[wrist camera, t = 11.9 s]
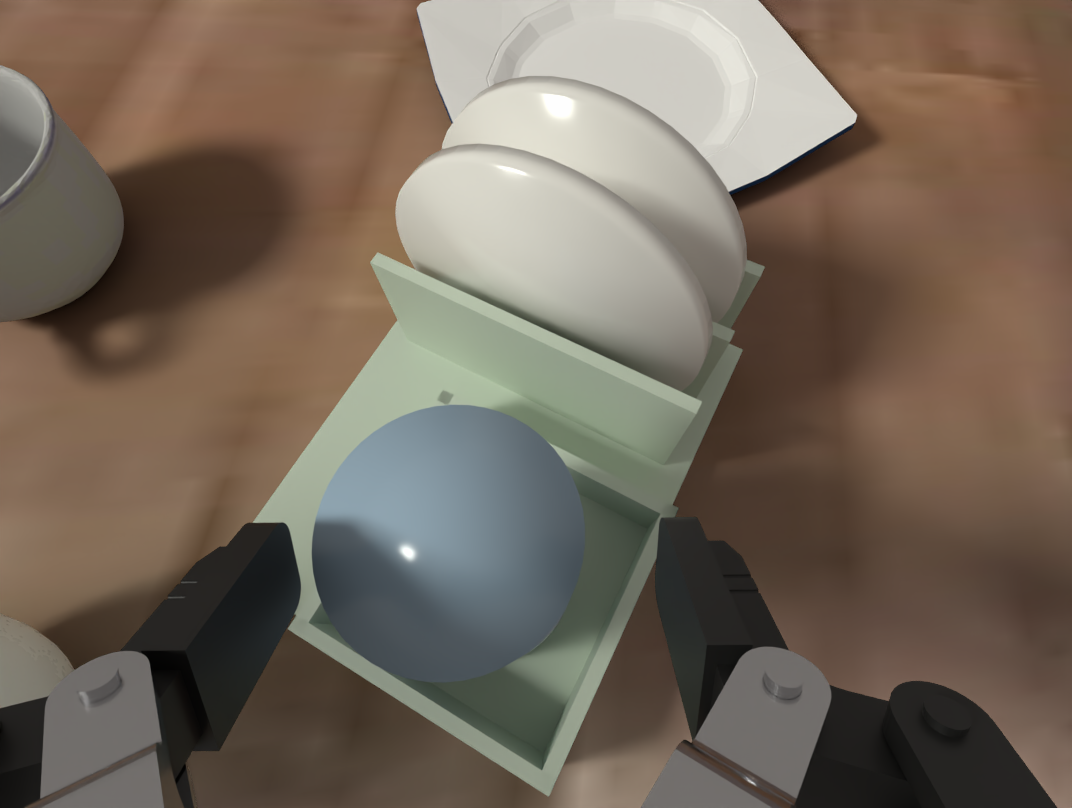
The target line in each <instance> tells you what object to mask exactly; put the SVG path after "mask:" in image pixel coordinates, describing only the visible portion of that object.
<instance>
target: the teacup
mask: <svg viewBox="0 0 1072 808" xmlns="http://www.w3.org/2000/svg"><path fill="white" fill-rule="evenodd" d="M123 230H124V216H123V209H122V206H121V202H120V199H119V196H118V194H117V192H116V190H115V187H114V186H113V184H112V182H111V181H110V179H109V177H108V176H107V175H106V173H105V172H104V170H103V169H102V168H101V166H100V165H99V164H98V162H97V161H96V160H95V159H94V157H93V156H92V155H91V153H90V152H89V151H88V150H87V149H86V147H85V146H84V145H83V144H82V142H81V141H80V140H79V139H78V138H77V136H76V135H75V134H74V133H73V132H72V130H71V129H70V128H69V127H68V126H67V125H66V123H65V122H64V121H63V120H62V119H61V118H60V117H59V115H58V114H57V113H56V112H55V111H54V110H53V108H52V106H51V104H50V102H49V100H48V98H47V97H46V96H45V94H44V93H43V91H42V90H41V89H40V88H39V87H38V86H37V85H36V84H35V83H34V82H33V81H32V80H31V79H29V78H28V77H26V76H24V75H23V74H20V73H18V72H16V71H15V70H12V69H9V68H7V67H4V66H1V65H0V322H7V321H15V320H20V319H25V318H30V317H34V316H37V315H40V314H43V313H46V312H49V311H51V310H54V309H57V308H59V307H62V306H64V305H66V304H68V303H70V302H72V301H74V300H75V299H77V298H79V297H80V296H82V295H83V294H84V293H86V292H87V291H88V290H90V289H91V288H92V287H93V286H94V285H95V284H96V283H97V282H98V281H99V279H100V278H101V277H102V276H103V275H104V273H105V272H106V270H107V269H108V267H109V266H110V264H111V263H112V262H113V260H114V258H115V256H116V254H117V252H118V249H119V247H120V244H121V240H122V237H123Z"/></svg>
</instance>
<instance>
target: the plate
mask: <svg viewBox="0 0 1072 808" xmlns="http://www.w3.org/2000/svg"><path fill="white" fill-rule="evenodd" d="M417 15H418V19H419V23H420V26H421V30H422V34H423V37H424V41H425V45H426V48H427V52H428V56H429V60H430V63H431V67H432V71H433V74H434V78H435V82H436V85H437V88H438V91H439V93H440V96H441V98H442V101H443V103H444V105H445V108H446V110H447V113H448V115H449V118H450V120H451V123H453V122H454V121H455V119H456V118H457V117H458V115H459V114H460V113H461V111H462V110H463V109H464V108H465V106H466V105H467V104H468V103H469V102H470V101H471V100H472V99H473V98H474V97H475V96H476V95H477V94H478V93H480V92H482V91H483V90H485V89H487V88H488V87H490V86H492V85H494V84H497V83H500V82H502V81H505V80H508V79H512V78H519V77H526V76H555V77H561V78H568V79H574V80H578V81H582V82H585V83H589V84H592V85H596V86H599V87H602V88H604V89H607V90H609V91H611V92H614V93H616V94H619V95H621V96H623V97H626V98H627V99H629V100H631V101H633V102H635V103H636V104H638V105H640V106H642V107H643V108H645V109H647V110H649V111H650V112H652V113H653V114H655V115H656V116H658V117H659V118H660V119H662V120H663V121H665V122H666V123H667V124H669V125H670V126H672V127H673V128H674V129H675V130H676V131H677V132H679V133H680V134H681V135H682V136H683V137H684V138H685V139H686V140H688V141H689V142H690V143H691V144H692V145H693V146H694V147H695V148H696V149H697V150H698V151H699V153H700V154H701V155H702V156H703V157H704V158H705V159H706V160H707V161H708V163H709V164H710V165H711V166H712V167H713V169H714V170H715V172H716V173H717V175H718V176H719V177H720V179H721V180H722V182H723V183H724V185H725V186H726V188H727V190H728V192H729V194H730V195H731V194H734V193H736V192H739V191H741V190H743V189H746V188H748V187H751V186H753V185H756V184H758V183H761V182H763V181H765V180H767V179H769V178H770V177H772V176H774V175H775V174H777V173H779V172H780V171H782V170H784V169H785V168H787V167H789V166H790V165H792V164H794V163H795V162H797V161H799V160H800V159H802V158H804V157H805V156H807V155H809V154H810V153H812V152H814V151H815V150H817V149H819V148H820V147H822V146H824V145H825V144H827V143H829V142H830V141H832V140H834V139H835V138H837V137H839V136H840V135H842V134H844V133H846V132H847V131H849V130H851V129H852V128H853V126H854V124H855V122H856V118H857V114H856V113H855V112H854V111H853V110H852V109H851V107H850V106H849V105H848V104H847V103H846V102H845V100H844V99H843V98H842V97H841V96H840V95H839V93H838V92H837V91H836V90H835V89H834V88H833V87H832V85H831V84H830V83H829V82H828V81H827V80H826V78H825V77H824V76H823V75H822V74H821V73H820V71H819V70H818V69H817V68H816V67H815V66H814V64H813V63H812V62H811V61H810V60H809V59H808V57H807V56H806V55H805V54H804V53H803V52H802V50H801V49H800V48H799V47H798V46H797V44H796V43H795V42H794V41H793V40H792V38H791V37H790V36H789V35H788V34H787V32H786V31H785V30H784V29H783V28H782V27H781V25H780V24H779V23H778V22H777V21H776V19H775V18H774V17H773V16H772V15H771V14H770V13H769V12H768V11H767V9H766V8H765V7H764V6H763V5H762V4H761V3H760V2H759V1H758V0H431V1H428V2H424V3H421V4H420V5H419V6H418V8H417Z"/></svg>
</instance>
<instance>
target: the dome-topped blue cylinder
mask: <svg viewBox="0 0 1072 808" xmlns="http://www.w3.org/2000/svg"><path fill="white" fill-rule="evenodd" d="M584 548H585V522H584V515H583V508H582V504H581V500H580V496H579V493H578V490H577V487H576V485H575V482H574V480H573V478H572V475H571V474H570V472H569V470H568V468H567V467H566V465H565V463H564V461H563V460H562V459H561V457H560V456H559V455H558V453H557V452H556V451H555V449H554V448H553V447H552V446H551V445H550V444H549V443H548V442H547V441H546V440H545V439H544V438H543V437H542V436H541V435H539V434H538V433H537V432H536V431H534V430H533V429H532V428H530V427H529V426H528V425H526V424H524V423H522V422H521V421H519V420H517V419H516V418H513V417H511V416H509V415H506V414H504V413H502V412H499V411H495V410H492V409H488V408H485V407H478V406H471V405H443V406H434V407H430V408H425V409H421V410H417V411H414V412H412V413H409V414H406V415H403V416H401V417H399V418H397V419H395V420H393V421H391V422H389V423H387V424H385V425H384V426H382V427H381V428H379V429H378V430H376V431H374V432H373V433H372V434H371V435H369V436H368V437H367V438H366V439H364V440H363V441H362V442H361V443H360V444H359V445H358V446H357V447H356V448H355V449H354V450H353V451H352V452H351V453H350V454H349V455H348V456H347V458H346V459H345V460H344V461H343V463H342V464H341V465H340V467H339V468H338V469H337V471H336V473H335V474H334V476H333V478H332V479H331V481H330V483H329V484H328V486H327V489H326V491H325V493H324V495H323V498H322V500H321V503H320V506H319V509H318V512H317V516H316V519H315V525H314V530H313V536H312V566H313V574H314V579H315V584H316V588H317V592H318V595H319V597H320V600H321V603H322V605H323V608H324V610H325V612H326V614H327V615H328V617H329V619H330V621H331V623H332V625H333V626H334V627H335V629H336V630H337V631H338V633H339V634H340V635H341V637H342V638H343V639H344V640H345V641H346V642H347V643H348V644H349V645H350V646H351V647H352V648H353V649H354V650H355V651H356V652H357V653H358V654H360V655H361V656H362V657H364V658H365V659H366V660H368V661H369V662H370V663H372V664H374V665H376V666H378V667H380V668H381V669H383V670H385V671H387V672H390V673H392V674H395V675H398V676H401V677H404V678H407V679H413V680H418V681H423V682H441V683H445V682H455V681H464V680H468V679H472V678H476V677H480V676H484V675H486V674H489V673H491V672H493V671H496V670H498V669H501V668H503V667H505V666H506V665H508V664H510V663H511V662H513V661H515V660H517V659H518V658H520V657H522V656H523V655H525V654H527V653H529V652H530V651H532V650H534V649H535V648H536V647H538V646H539V645H540V644H542V643H543V642H544V641H545V640H546V639H547V638H548V637H549V636H550V635H551V634H552V632H553V631H554V630H555V628H556V627H557V626H558V624H559V622H560V620H561V619H562V617H563V614H564V612H565V610H566V608H567V605H568V603H569V601H570V599H571V596H572V594H573V591H574V589H575V586H576V584H577V582H578V578H579V574H580V571H581V567H582V563H583V556H584Z"/></svg>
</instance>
